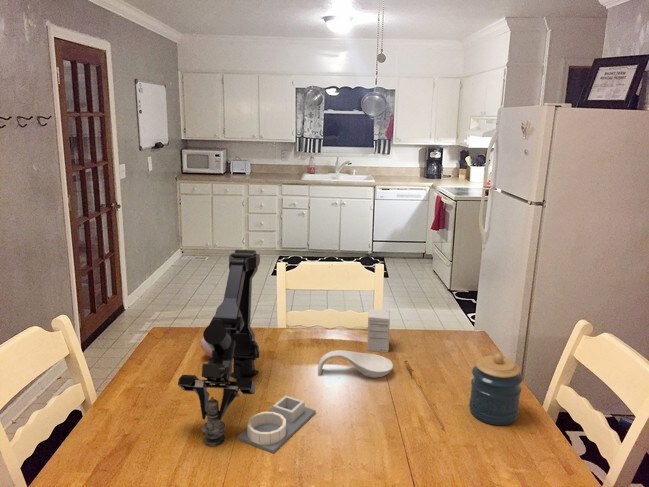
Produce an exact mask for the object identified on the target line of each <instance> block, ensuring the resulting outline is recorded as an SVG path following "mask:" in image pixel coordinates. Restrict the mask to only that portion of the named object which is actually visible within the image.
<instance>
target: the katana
mask: <svg viewBox="0 0 649 487" xmlns="http://www.w3.org/2000/svg"><path fill="white" fill-rule="evenodd" d="M404 364H405V366H406V368H407V370H408V371H409V374H410V375H411V379H412V381H413V383H414V384H415V386H416V387H417V388H418V390H419V392H420V394H421V395H422V398H424V401H425V402H426V405H427V406H428V408H429V410H430V411H431V413H432V414H433V416H434V418H435V420H436V422H437V423H438V424H439V428H441V429H443V428H444V425H443V423H442V422H441V420H440V419H439V416H438V415H437V414H436V412H435V410H434V407H433V406H432V404H431V403H430V401H429V399H428V396H427V395H426V394H425V392H424V390H423V388H422V386H421V384H420V382H419V379H418V378H419V376H418V375H417V373H416V371H415V370H414V369H412V367H411V365H410V363H409V361H408V360H405V361H404Z"/></svg>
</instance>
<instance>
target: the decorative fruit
mask: <svg viewBox="0 0 649 487" xmlns="http://www.w3.org/2000/svg"><path fill="white" fill-rule="evenodd" d="M200 348H201V350H202V351H203V353H204V354H205V355H206V356H208V357H209V358H211V353H212V349H211V348H210V347H209V345H208V344H207V343H206V341H205V339H204V337H202V338H201V340H200Z"/></svg>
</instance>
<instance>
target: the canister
mask: <svg viewBox="0 0 649 487" xmlns="http://www.w3.org/2000/svg"><path fill="white" fill-rule="evenodd" d="M471 373H472V375H473V377H472V378H471V381H470V384H471V387H470V388H471V390H470V398H469V401H468V407H469V410H470V411H469V412H470V414H471V415H472V416H473V417H474V418H476V419H477V420H478V421H480V422H483V423H485V424H487V425H488V424H489V425H492V426H493V425H494V426H507V425H511V424H513V423H515V422H516V421H517V418H518V416H519V414H520V413H519V412H520V408H519V405H520V398H521V392H522V387H521V385H520V384H522V382H523V380H524V379H523V375H522V374H521V368H520V366H519V365H518V364H517V363H516V362H514V360H512V359H510V358H508V357H506V356H503V354H501V353H495V354H494V355H493V354H492V355H491V354H490V355H486V356H483V357H481V358H478V359H477V360H476V362H475V365H474V367H472V370H471Z"/></svg>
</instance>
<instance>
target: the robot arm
mask: <svg viewBox="0 0 649 487" xmlns="http://www.w3.org/2000/svg"><path fill="white" fill-rule="evenodd" d="M260 262H261V255H260V253H257V250H255V249H254V250H253V249H235V251H234V253H232V252H231V253H230V254H229V255H228V269H229V272H228V276H227V281H226V286H225V291H224V297H223V300H222V303H220V304H219V305H218V307H217V308H216V311H215V315H214V316H213V317H212V319H211V321H210V322H209V324H208V325H207V326H206V328H205V329H204V330H203V332H202V335H203V337H204V339H205V341H206V343H207V344H208V345H209V347H210V348H211V349H212V353H211V357H209V358H208V362H206V363H202V366H201V377H202V378H204V379H200V378H198V377H197V375H195V374H181V376H180V377H179V378H178V382H177V386H178V387H179V388H180V389H181V390H182V391H184V392H185V391H186V392H194V393H195V394H196V395H198V400H199V404H200V411H201V418H202V420H205V419H206V418H207V416H206V412H207V402H208V400H210V399H209V398H210V393H209V391H208V390H209V389H223V390H222V394H223V395H222V399H221V404H220V406H219V418H218V420H220V421H222V419H223V417H224V416H225V413H226V412H227V411H228V408H229V407H230V405H231V404H232V402H233V401H234V400H235V398H239V397H240V394H239V393H240V392H241V394H243V395H255V393H256V384H255V382H254V380H253V379H252V378H253V377H254V376H256V375H257V374H259V370H258V369H255V361H256V360H257V359H258V358H260V347H259V344H258V342H257V341H256V334H255V333H254V330H253V329H252V326H251V316H252V312H251V311H252V289H253V288H252V287H253V286H252V285H253V278H254V276H255V275H256V274H257V272H258V271H259V270H258V268H259V267H260ZM203 337H202V338H203ZM232 371H233V372H232ZM231 377H233V378H234V379H235V378H236V380H235V381H233V380H232V381H231V380H230V379H231Z"/></svg>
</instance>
